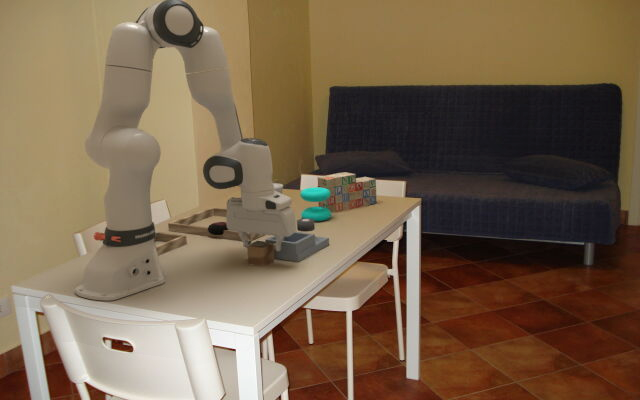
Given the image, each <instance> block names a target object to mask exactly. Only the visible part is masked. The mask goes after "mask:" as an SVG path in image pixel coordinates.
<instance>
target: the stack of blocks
mask: <svg viewBox="0 0 640 400" xmlns="http://www.w3.org/2000/svg"><path fill="white" fill-rule="evenodd" d="M317 187H321V188H326V189H328V190H329V191H330V197H329V198H328V199H326V200H324V201H320V202H318V207H325V208H327V209H329V210H330V212H331V214H332V213H337V212H342V211H348V210H353V209H356V208H361V207H367V206H370V205H375V204H377V180H376V178H374V177H367V176H363V177H362V176H361V177H357V175H356V173H352V172H347V171H346V172H345V171H344V172H337V173H333V174H327V175H321V176H317ZM347 209H348V210H347Z"/></svg>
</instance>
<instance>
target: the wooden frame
mask: <svg viewBox="0 0 640 400" xmlns="http://www.w3.org/2000/svg"><path fill="white" fill-rule="evenodd" d="M187 238H188V237H187V235H183V234H177V233H176V234H175V233H170V232H162V231H158V234H157V235H156V237H154V240H155V241H158V242H163V243H160V244H158V245H156V249H157V253H158V256H160V255H163V254H165V253H167V252H170V251H172V250H175V249H178V248H179V247H182V246H185V245H187V244H188V240H187Z"/></svg>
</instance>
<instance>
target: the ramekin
mask: <svg viewBox="0 0 640 400" xmlns="http://www.w3.org/2000/svg"><path fill="white" fill-rule="evenodd" d="M273 185H274V190H275V191H277V192H279V193H281V194H283V190H284V185H283V183H282V184H281V183H275V182H273Z"/></svg>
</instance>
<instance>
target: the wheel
mask: <svg viewBox="0 0 640 400" xmlns="http://www.w3.org/2000/svg"><path fill="white" fill-rule="evenodd" d="M315 226H316V224H315V222H314V220H313V219H303V218H299V219H297V220H296V229H297V232H302V233H307V232H312V231H314V230H315V228H316V227H315Z"/></svg>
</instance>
